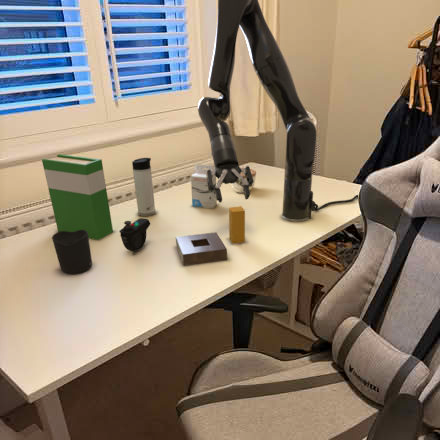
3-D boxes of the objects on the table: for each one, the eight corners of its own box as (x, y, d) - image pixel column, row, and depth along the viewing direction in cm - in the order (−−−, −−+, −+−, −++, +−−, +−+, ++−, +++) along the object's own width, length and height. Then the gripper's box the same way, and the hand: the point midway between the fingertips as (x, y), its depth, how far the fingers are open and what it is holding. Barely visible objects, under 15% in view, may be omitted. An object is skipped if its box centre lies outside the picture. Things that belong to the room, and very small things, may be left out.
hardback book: (58, 231, 150) (41, 159, 138) (73, 223, 156) (59, 154, 143) (98, 240, 143) (85, 165, 131) (113, 231, 149) (101, 159, 136)
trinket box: (231, 186, 189) (231, 164, 184) (256, 186, 187) (257, 164, 182) (228, 194, 180) (228, 171, 175) (254, 194, 178) (255, 171, 173)
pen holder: (75, 278, 121) (68, 245, 116) (52, 270, 125) (44, 238, 120) (100, 264, 128) (94, 232, 122) (77, 257, 132) (71, 226, 127)
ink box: (191, 206, 168) (189, 167, 161) (196, 202, 172) (194, 164, 165) (212, 208, 166) (211, 169, 158) (217, 204, 170) (216, 165, 162)
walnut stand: (216, 242, 139) (216, 232, 137) (227, 259, 128) (226, 248, 127) (176, 247, 137) (175, 236, 135) (183, 265, 126) (182, 254, 124)
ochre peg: (241, 237, 142) (241, 206, 137) (244, 242, 139) (245, 210, 133) (229, 239, 141) (228, 207, 136) (232, 243, 138) (232, 211, 133)
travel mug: (153, 216, 160) (147, 160, 149) (135, 216, 161) (128, 160, 151) (158, 210, 165) (153, 156, 155) (141, 210, 166) (135, 155, 156)
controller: (120, 255, 133) (115, 224, 127) (142, 240, 142) (139, 210, 137) (132, 258, 131) (128, 226, 126) (154, 241, 141) (151, 211, 136)
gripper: (203, 148, 136) (213, 196, 132) (247, 144, 139) (258, 191, 135) (200, 162, 143) (210, 207, 139) (243, 158, 146) (253, 202, 142)
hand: (234, 199), depth 137 cm, fingers open, 8 cm apart
